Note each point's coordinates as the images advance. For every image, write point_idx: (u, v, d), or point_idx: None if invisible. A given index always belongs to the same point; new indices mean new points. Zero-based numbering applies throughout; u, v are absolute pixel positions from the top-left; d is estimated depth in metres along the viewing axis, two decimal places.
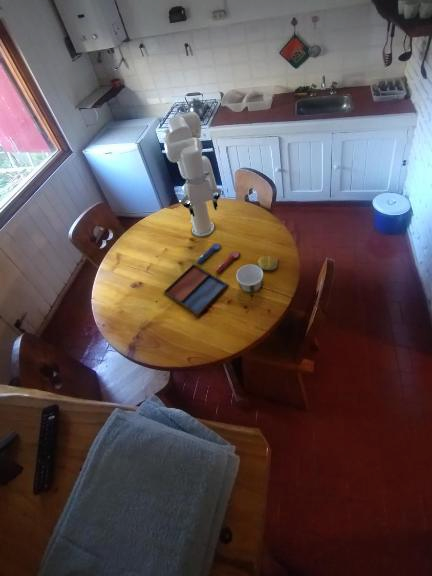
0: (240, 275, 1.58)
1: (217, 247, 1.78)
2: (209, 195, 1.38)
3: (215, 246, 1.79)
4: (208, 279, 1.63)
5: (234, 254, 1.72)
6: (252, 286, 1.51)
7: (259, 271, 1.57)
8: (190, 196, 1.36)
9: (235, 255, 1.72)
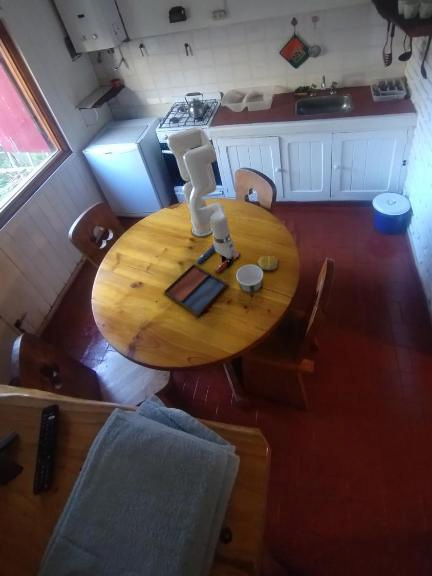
0: (240, 275, 1.58)
1: None
2: (226, 254, 1.60)
3: None
4: (208, 279, 1.63)
5: (234, 254, 1.72)
6: (252, 286, 1.51)
7: (259, 271, 1.57)
8: (214, 245, 1.64)
9: (235, 255, 1.72)
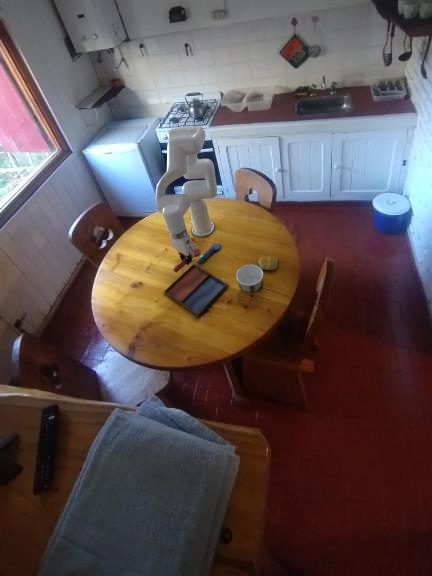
0: (240, 275, 1.58)
1: (217, 247, 1.78)
2: (183, 251, 1.46)
3: (215, 246, 1.79)
4: (208, 279, 1.63)
5: (195, 251, 1.58)
6: (252, 286, 1.51)
7: (259, 271, 1.57)
8: (171, 241, 1.49)
9: (196, 252, 1.57)
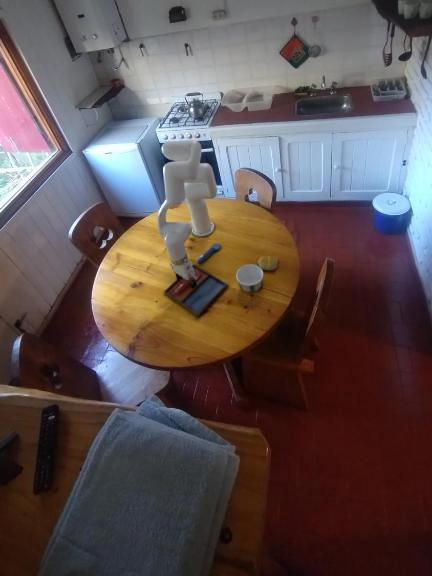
0: (240, 275, 1.58)
1: (217, 247, 1.78)
2: (184, 276, 1.54)
3: (215, 246, 1.79)
4: (208, 279, 1.63)
5: (195, 274, 1.65)
6: (252, 286, 1.51)
7: (259, 271, 1.57)
8: (172, 266, 1.57)
9: (196, 275, 1.65)
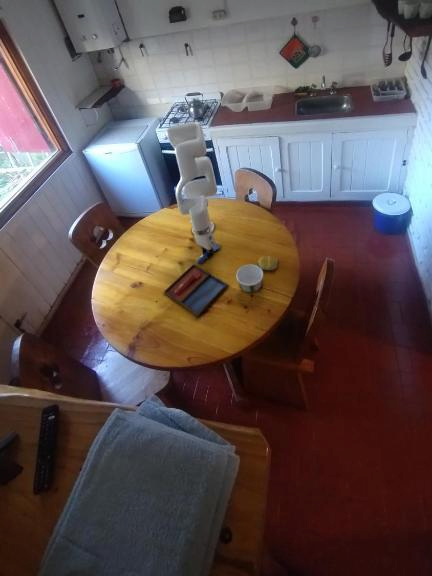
0: (240, 275, 1.58)
1: (217, 247, 1.78)
2: (206, 246, 1.67)
3: (215, 246, 1.79)
4: (208, 279, 1.63)
5: (195, 274, 1.65)
6: (252, 286, 1.51)
7: (259, 271, 1.57)
8: (195, 237, 1.70)
9: (196, 275, 1.65)
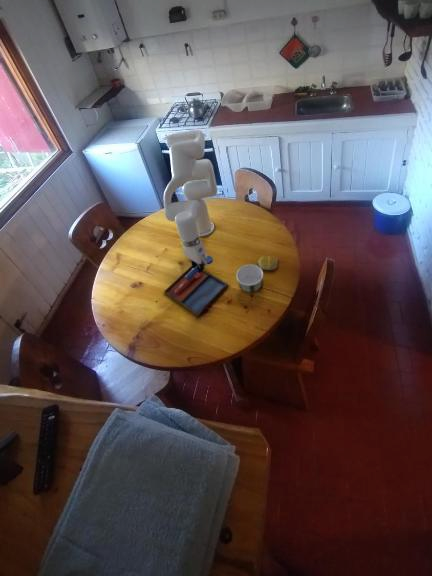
0: (240, 275, 1.58)
1: (209, 260, 1.52)
2: (196, 259, 1.41)
3: (207, 258, 1.53)
4: (208, 279, 1.63)
5: (195, 274, 1.65)
6: (252, 286, 1.51)
7: (259, 271, 1.57)
8: None
9: (196, 275, 1.65)
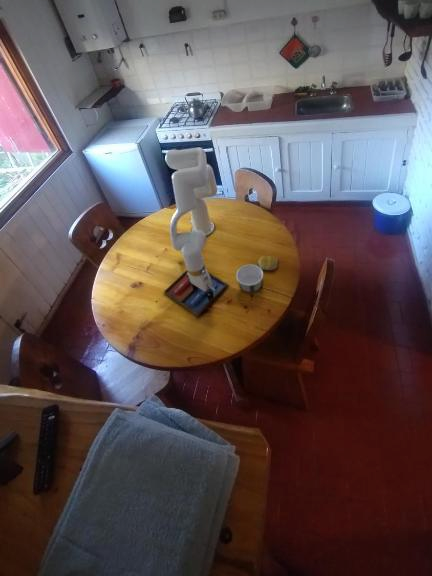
0: (240, 275, 1.58)
1: (214, 285, 1.58)
2: (201, 287, 1.47)
3: (212, 284, 1.59)
4: None
5: None
6: (252, 286, 1.51)
7: (259, 271, 1.57)
8: (189, 276, 1.51)
9: None
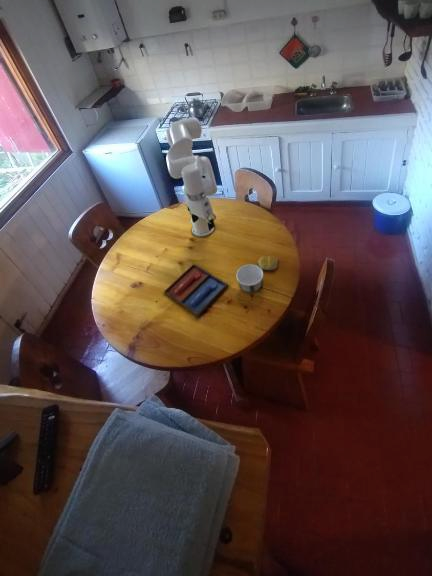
0: (240, 275, 1.58)
1: (214, 285, 1.58)
2: (202, 214, 1.44)
3: (212, 284, 1.59)
4: (208, 279, 1.63)
5: (195, 274, 1.65)
6: (252, 286, 1.51)
7: (259, 271, 1.57)
8: (188, 205, 1.47)
9: (196, 275, 1.65)
